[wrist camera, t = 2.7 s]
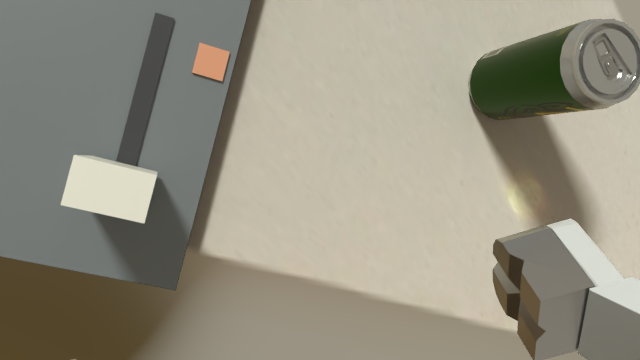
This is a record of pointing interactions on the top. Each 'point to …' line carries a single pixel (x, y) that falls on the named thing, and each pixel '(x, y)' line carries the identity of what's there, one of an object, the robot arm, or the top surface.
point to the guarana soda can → (559, 72)
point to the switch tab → (109, 188)
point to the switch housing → (110, 124)
